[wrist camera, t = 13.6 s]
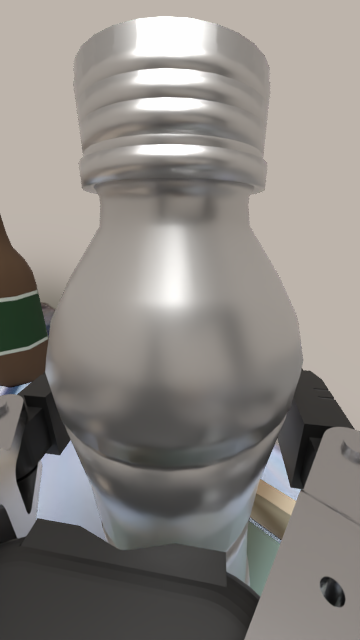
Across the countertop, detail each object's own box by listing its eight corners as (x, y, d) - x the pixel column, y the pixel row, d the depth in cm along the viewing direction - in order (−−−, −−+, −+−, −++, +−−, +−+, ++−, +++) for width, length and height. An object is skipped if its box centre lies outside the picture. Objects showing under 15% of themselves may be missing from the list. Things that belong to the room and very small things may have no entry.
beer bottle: (-20, 374, 32) (-95, 163, 24) (40, 351, 38) (-2, 175, 30) (2, 397, 28) (-80, 148, 19) (67, 367, 34) (25, 165, 25)
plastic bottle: (76, 662, 11) (-178, 18, 3) (154, 507, 16) (133, 149, 9) (223, 797, 8) (748, -806, 1) (255, 558, 14) (343, 121, 6)
